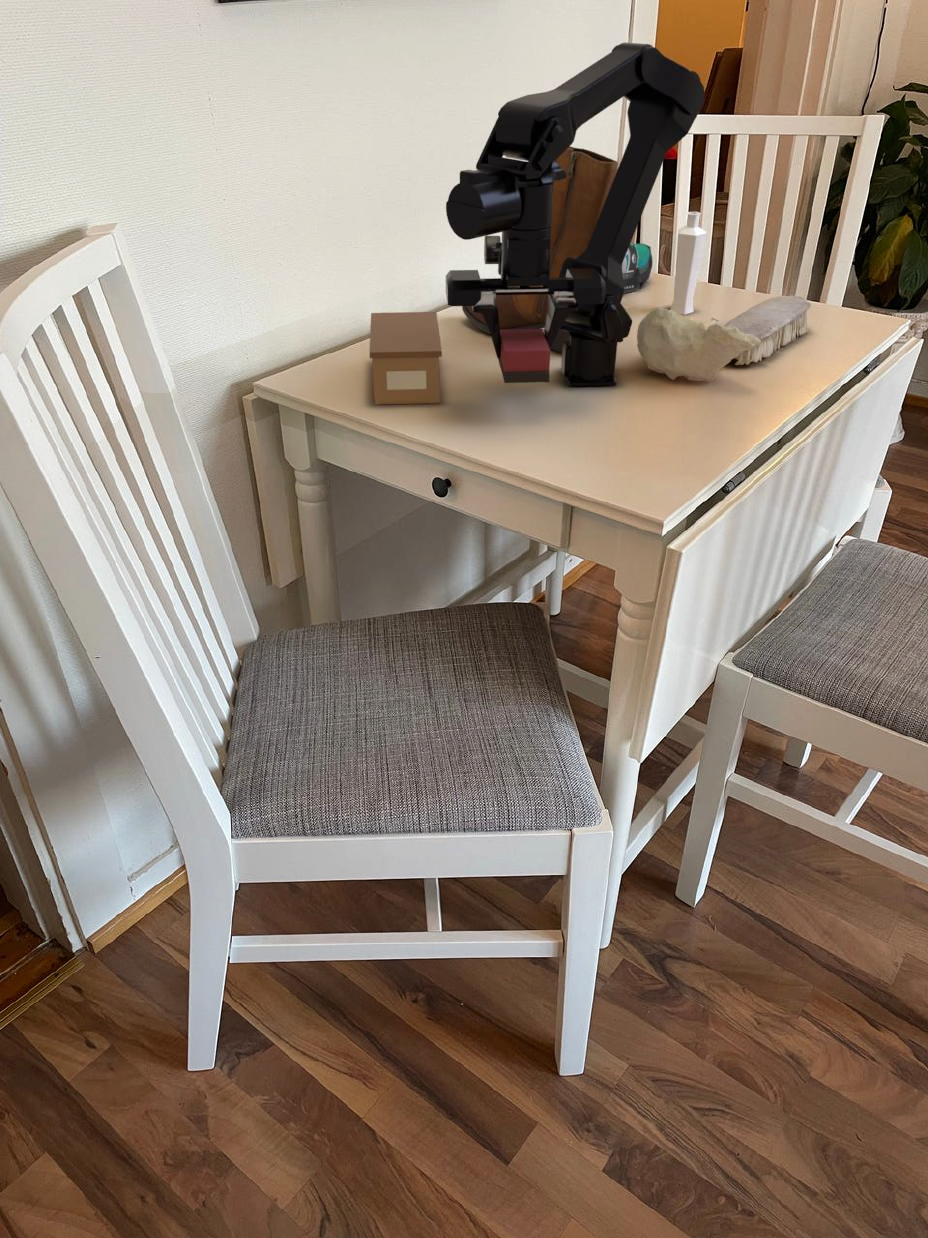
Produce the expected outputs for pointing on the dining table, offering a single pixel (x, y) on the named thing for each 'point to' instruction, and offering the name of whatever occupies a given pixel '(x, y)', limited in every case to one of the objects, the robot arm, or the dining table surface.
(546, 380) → the dark red two-tone block
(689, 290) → the perfume bottle
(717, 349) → the beige lumpy irregular piece
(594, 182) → the boot
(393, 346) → the shoebox
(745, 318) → the shoe brush
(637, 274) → the sneaker
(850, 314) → the dining table surface
